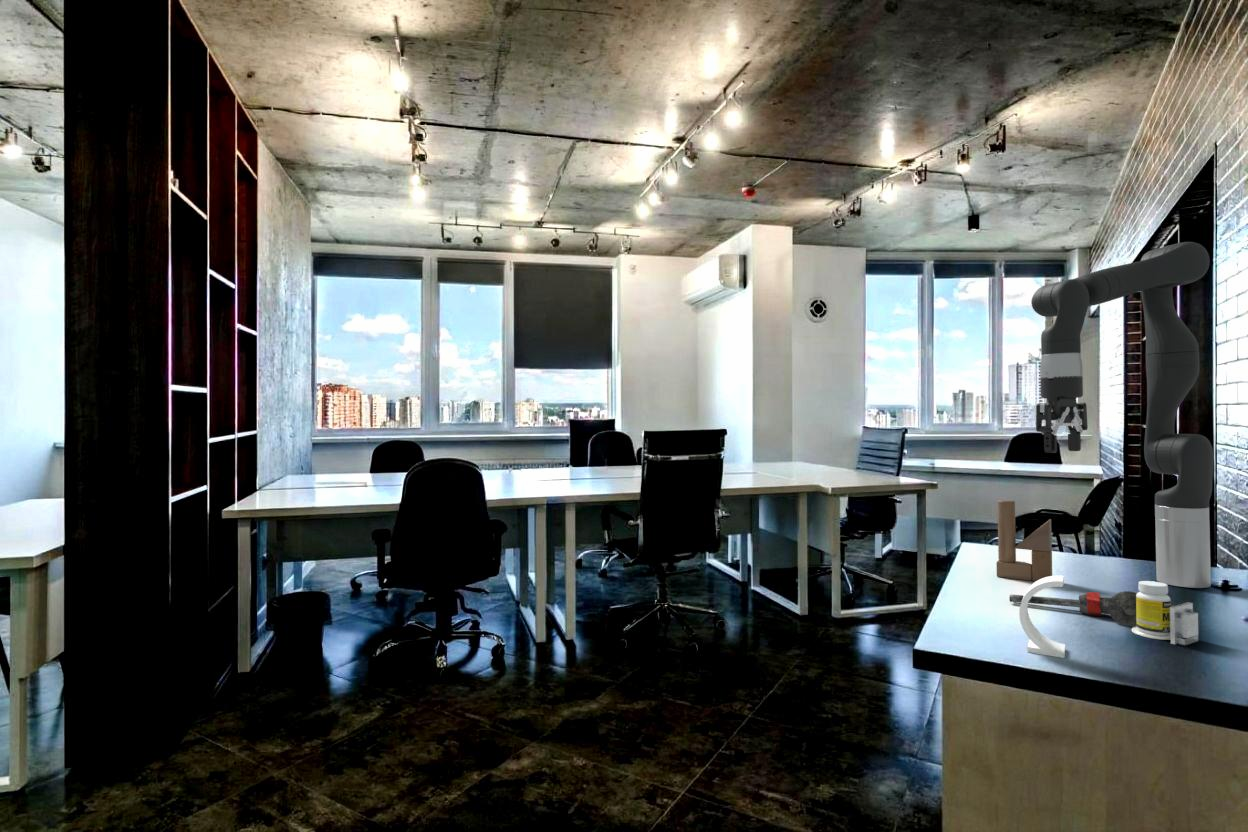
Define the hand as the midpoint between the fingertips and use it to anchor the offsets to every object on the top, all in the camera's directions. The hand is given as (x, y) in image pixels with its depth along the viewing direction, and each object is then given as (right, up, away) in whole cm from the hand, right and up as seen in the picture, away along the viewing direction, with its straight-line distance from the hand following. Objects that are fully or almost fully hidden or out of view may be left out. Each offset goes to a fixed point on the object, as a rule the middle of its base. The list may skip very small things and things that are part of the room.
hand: (1062, 451), depth 141 cm
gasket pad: (-2, -30, -26) cm, 40 cm away
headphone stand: (-25, -31, -33) cm, 52 cm away
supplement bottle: (-2, -30, -26) cm, 40 cm away
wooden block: (0, -30, +13) cm, 33 cm away
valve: (-3, -31, -12) cm, 33 cm away
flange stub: (0, -30, -30) cm, 42 cm away
